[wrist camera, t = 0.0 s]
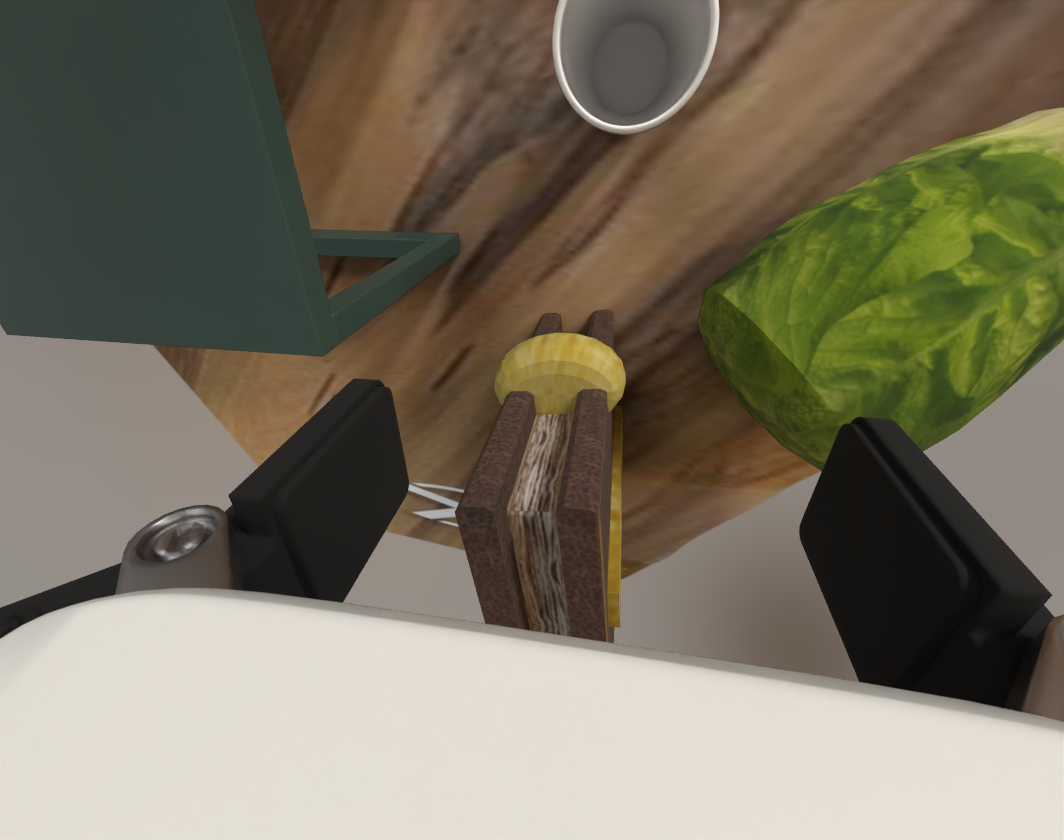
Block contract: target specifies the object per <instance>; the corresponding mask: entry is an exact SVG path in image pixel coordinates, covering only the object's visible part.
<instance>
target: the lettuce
mask: <svg viewBox="0 0 1064 840" xmlns="http://www.w3.org/2000/svg"><path fill="white" fill-rule="evenodd" d="M697 325H698V327H699V330H700V333H701V335H702V338H703V340H704V343H705V346H706V348H707V351H708V354H709V356H710V359H711V361H712V363H713V364H714V366H715V367H716V369H717V370H718V372H719V373H720V374H721V376H722V377H723V379H724V380H725V382H726V383H727V385H728V386H729V388H730V389H731V391H732V392H733V394H734V395H735V397H736V398H737V400H738V401H739V403H740V404H741V406H742V407H743V408H744V409H745V410H747V411H748V412H749V413H750V414H751V415H752V416H753V417H754V418H755V419H756V420H757V421H758V422H759V423H760V424H761V425H762V426H763V427H764V428H765V429H766V430H767V431H768V432H769V433H770V434H771V435H772V436H773V437H774V438H775V439H776V440H777V441H778V442H779V443H780V444H781V445H782V446H783V447H785V448H786V449H788V450H790V451H791V452H793V453H794V454H796V455H797V456H799V457H800V458H802V459H804V460H805V461H807V462H808V463H810V464H811V465H813V466H814V467H816V468H818V469H819V470H821V471H822V470H823V468H824V465H825V463H826V460H827V458H828V456H829V453H830V451H831V448H832V446H833V444H834V441H835V439H836V436H837V434H838V431H839V429H840V428H841V426H842V425H843V424H845V423H849V424H850V423H851V421H852V420H853V419H854V418H857V417H867V418H880V419H891V420H894V421H895V422H896V423H897V424H898V425H899V426H900V427H901V428H902V429H903V430H904V432H905V433H906V434H907V435H908V436H909V437H910V438H911V439H912V440H913V442H914V443H915V444H916V445H917V446H918V447H919V448H920V449H921V450H922V452H923V451H924V450H926V449H928V448H929V447H931V446H933V445H935V444H936V443H938V442H940V441H941V440H943V439H945V438H947V437H948V436H950V435H951V434H953V433H955V432H956V431H958V430H959V429H961V428H962V427H963V426H964V425H966V424H967V423H968V422H969V421H970V420H972V419H973V418H974V417H975V416H977V415H978V414H979V413H980V412H982V411H983V410H984V409H985V408H986V407H988V406H989V405H990V404H991V403H993V402H994V401H995V400H996V399H998V398H999V397H1000V396H1001V395H1002V394H1003V393H1004V392H1005V391H1006V390H1008V389H1009V388H1010V387H1011V386H1012V385H1013V384H1014V383H1016V382H1017V381H1018V380H1019V379H1020V378H1021V377H1022V376H1023V375H1024V374H1026V373H1027V372H1028V371H1029V370H1030V369H1031V368H1032V367H1033V366H1035V364H1037V363H1038V362H1039V361H1040V360H1041V359H1042V358H1043V357H1045V356H1046V355H1047V354H1048V353H1049V352H1050V351H1052V350H1053V349H1054V348H1055V347H1056V346H1057V345H1058V344H1060V343H1061V342H1062V341H1063V340H1064V107H1063V108H1055V109H1049V110H1043V111H1038V112H1034V113H1031V114H1029V115H1027V116H1024V117H1022V118H1019V119H1017V120H1014V121H1012V122H1010V123H1007V124H1005V125H1002V126H1000V127H997V128H995V129H992V130H990V131H986V132H982V133H978V134H974V135H970V136H966V137H962V138H958V139H955V140H952V141H950V142H947V143H944V144H942V145H939V146H937V147H934V148H932V149H929V150H927V151H924V152H922V153H919V154H917V155H914V156H912V157H910V158H908V159H906V160H904V161H902V162H900V163H898V164H896V165H894V166H892V167H890V168H888V169H886V170H884V171H882V172H880V173H878V174H876V175H874V176H872V177H870V178H869V179H867V180H865V181H863V182H861V183H860V184H858V185H856V186H854V187H852V188H850V189H849V190H847V191H845V192H842V193H840V194H838V195H836V196H833V197H831V198H829V199H826V200H824V201H822V202H820V203H817V204H815V205H813V206H810V207H808V208H806V209H804V210H802V211H801V212H800V213H798V214H797V215H795V216H794V217H793V218H791V219H790V220H789V221H787V222H786V223H784V224H783V225H782V226H780V227H779V228H777V229H776V230H775V231H773V232H772V233H770V234H769V235H768V236H767V237H766V238H765V239H764V240H762V241H761V242H760V243H759V244H758V245H757V246H756V247H755V248H754V249H753V250H752V251H751V252H749V253H748V254H747V255H746V256H745V257H744V258H743V259H742V260H741V261H740V262H739V263H737V264H736V265H735V266H734V267H732V268H731V269H730V270H729V271H727V272H726V273H725V274H724V275H722V276H721V277H720V278H719V279H718V280H716V281H715V282H714V283H713V284H711V285H710V286H709V287H708V288H707V289H706V290H705V291H704V295H703V299H702V303H701V308H700V312H699V316H698V320H697Z"/></svg>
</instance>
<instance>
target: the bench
mask: <svg viewBox="0 0 1064 840" xmlns="http://www.w3.org/2000/svg"><path fill="white" fill-rule="evenodd" d="M459 252H460V246H459V234H458V233H426V232H387V231H348V230H311V229H310V225H309V221H308V217H307V213H306V209H305V205H304V201H303V197H302V193H301V189H300V185H299V181H298V177H297V172H296V168H295V164H294V160H293V156H292V152H291V148H290V144H289V140H288V136H287V132H286V128H285V124H284V120H283V116H282V112H281V108H280V104H279V100H278V96H277V91H276V87H275V83H274V79H273V75H272V71H271V67H270V63H269V59H268V55H267V51H266V47H265V43H264V39H263V35H262V31H261V27H260V23H259V19H258V14H257V10H256V6H255V2H254V0H0V324H1V326H2V328H3V329H4V331H5V332H6V334H7V335H21V336H35V337H49V338H64V339H77V340H92V341H107V342H121V343H135V344H150V345H164V346H178V347H192V348H207V349H221V350H236V351H250V352H264V353H279V354H293V355H308V356H324V355H325V354H327V353H328V352H329V351H331V350H332V349H333V348H335V347H336V346H337V345H338V344H340V343H341V342H342V341H344V340H345V339H346V338H348V337H349V336H350V335H352V334H353V333H354V332H355V331H357V330H358V329H359V328H361V327H362V326H363V325H365V324H366V323H367V322H369V321H370V320H371V319H373V318H374V317H375V316H376V315H378V314H379V313H380V312H382V311H383V310H384V309H386V308H387V307H388V306H390V305H391V304H392V303H393V302H395V301H396V300H397V299H399V298H400V297H401V296H403V295H404V294H405V293H407V292H408V291H409V290H410V289H412V288H413V287H414V286H416V285H417V284H418V283H420V282H421V281H422V280H424V279H425V278H426V277H427V276H429V275H430V274H431V273H433V272H434V271H435V270H437V269H438V268H439V267H441V266H442V265H443V264H444V263H446V262H447V261H448V260H450V259H451V258H452V257H454V256H455V255H456V254H458V253H459ZM317 256H344V257H373V258H398V259H396V260H395V261H393V262H391V263H390V264H388V265H386V266H384V267H383V268H381V269H379V270H378V271H376V272H374V273H373V274H371V275H369V276H367V277H366V278H364V279H362V280H361V281H359V282H357V283H356V284H354V285H352V286H350V287H349V288H347V289H345V290H344V291H342V292H340V293H339V294H337V295H335V296H333V297H332V298H330V299H328V298H327V294H326V290H325V286H324V282H323V278H322V274H321V270H320V266H319V262H318V258H317Z"/></svg>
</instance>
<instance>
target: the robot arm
mask: <svg viewBox="0 0 1064 840" xmlns="http://www.w3.org/2000/svg"><path fill="white" fill-rule="evenodd" d="M408 488H409V479H408V474H407V469H406V464H405V458H404V453H403V448H402V443H401V438H400V432H399V427H398V422H397V417H396V412H395V407H394V401H393V396H392V392H391V390H390V389H389V388H388V387H385V386H384V384H383V382H381V381H380V380H368V379H353V380H352V381H351V382H349V383H348V384H347V385H346V386H345V387H344V388H343V389H342V390H341V391H340V392H339V393H338V394H337V395H335V396H334V397H333V398H332V399H331V400H330V401H329V402H328V403H327V404H326V405H325V406H324V407H323V408H322V409H320V410H319V411H318V412H317V413H316V414H315V415H314V416H313V417H312V418H311V419H310V420H309V421H308V422H307V423H305V424H304V425H303V426H302V427H301V428H300V429H299V430H298V431H297V432H296V433H295V434H294V435H293V436H291V437H290V438H289V439H288V440H287V441H286V442H285V443H284V444H283V445H282V446H281V447H280V448H279V449H278V450H276V451H275V452H274V453H273V454H272V455H271V456H270V457H269V458H268V459H267V460H266V461H265V462H264V463H262V464H261V465H260V466H259V467H258V468H257V469H256V470H255V471H254V472H253V473H252V474H251V475H250V476H249V477H247V478H246V479H245V480H244V481H243V482H242V483H241V484H240V485H239V486H238V487H237V488H236V489H235V490H234V491H232V492H231V493H230V494H229V498H230V500H231V502H232V504H233V505H232V506H231V507H229V508H228V509H227V510H226V511H225V512H224V511H223V510H221V509H220V508H218V507H215V506H210V505H197V506H191V507H186V508H182V509H178V510H176V511H173V512H170V513H168V514H165V515H163V516H161V517H159V518H158V519H156V520H154V521H152V522H150V523H149V524H147V525H146V526H145V527H143V528H142V529H141V530H140V531H138V532H137V533H136V534H135V535H134V537H133V538H132V539H131V540H130V541H129V542H128V544H127V546H126V548H125V551H124V553H123V558H122V563H120V564H117V565H114V566H111V567H109V568H106V569H103V570H101V571H98V572H95V573H93V574H90V575H87V576H85V577H82V578H79V579H77V580H74V581H71V582H69V583H66V584H63V585H61V586H58V587H55V588H52V589H50V590H47V591H44V592H42V593H39V594H36V595H34V596H31V597H28V598H25V599H23V600H20V601H18V602H15V603H12V604H9V605H7V606H4V607H2V608H0V840H1064V615H1061V616H1058V617H1054V616H1053V615H1052V614H1051V613H1050V611H1049V610H1048V609H1047V608H1046V607H1045V606H1044V604H1045V603H1046V602H1047V600H1048V599H1049V598H1050V597H1051V596H1052V595H1051V593H1050V592H1049V591H1048V590H1047V589H1046V588H1045V587H1044V586H1043V584H1042V583H1041V582H1040V581H1039V580H1038V579H1037V578H1036V577H1035V576H1034V574H1033V573H1032V572H1031V571H1030V570H1029V569H1028V568H1027V567H1026V566H1025V565H1024V563H1023V562H1022V561H1021V560H1020V559H1019V558H1018V557H1017V556H1016V555H1015V553H1014V552H1013V551H1012V550H1011V549H1010V548H1009V547H1008V546H1007V545H1006V543H1004V541H1003V540H1002V539H1001V538H1000V537H999V536H998V535H997V533H996V532H994V530H993V529H992V528H991V527H990V526H989V525H988V524H987V522H985V520H984V519H983V518H982V517H981V516H980V515H979V514H978V512H976V510H975V509H974V508H973V507H972V506H971V505H970V504H969V502H968V501H967V500H966V499H965V498H964V497H963V496H962V495H961V494H960V493H959V491H958V490H957V489H956V488H955V487H954V486H953V485H952V484H951V483H950V482H949V480H948V479H947V478H946V477H945V476H944V475H943V474H942V473H941V471H940V470H939V469H938V468H937V467H936V466H935V465H934V464H933V463H932V461H931V460H930V459H929V458H928V457H927V456H926V455H925V454H924V453H923V452H922V450H921V449H920V448H919V447H918V446H917V445H916V444H915V443H914V442H913V440H912V439H911V438H910V437H909V436H908V435H907V434H906V433H905V432H904V430H903V429H902V428H901V427H900V426H899V425H898V424H897V423H896V422H895V421H894V420H891V419H880V418H867V417H857V418H854V419H853V420H852V421H851V423H850V424H849V423H845V424H843V425H842V426H841V428H840V429H839V431H838V434H837V436H836V439H835V441H834V444H833V446H832V448H831V451H830V453H829V456H828V458H827V460H826V463H825V465H824V468H823V470H822V473H821V475H820V477H819V480H818V482H817V485H816V487H815V489H814V492H813V494H812V497H811V499H810V502H809V504H808V506H807V509H806V511H805V514H804V516H803V518H802V521H801V524H800V530H799V532H800V533H799V534H800V539H801V543H802V545H803V548H804V550H805V552H806V555H807V557H808V560H809V562H810V564H811V567H812V569H813V572H814V574H815V576H816V579H817V581H818V584H819V586H820V588H821V591H822V593H823V595H824V598H825V600H826V603H827V605H828V608H829V610H830V612H831V615H832V617H833V619H834V622H835V624H836V627H837V629H838V631H839V634H840V636H841V639H842V641H843V643H844V646H845V648H846V651H847V653H848V655H849V658H850V660H851V663H852V665H853V668H854V669H855V672H856V675H857V677H858V680H859V682H857V681H851V680H844V679H838V678H832V677H825V676H820V675H813V674H807V673H800V672H794V671H788V670H782V669H775V668H769V667H762V666H756V665H750V664H744V663H737V662H731V661H724V660H718V659H712V658H705V657H699V656H693V655H686V654H681V653H674V652H667V651H661V650H654V649H647V648H642V647H634V646H629V645H622V644H615V643H609V642H603V641H596V640H590V639H583V638H577V637H570V636H563V635H557V634H550V633H544V632H537V631H531V630H524V629H517V628H511V627H504V626H498V625H491V624H484V623H478V622H471V621H464V620H457V619H450V618H443V617H437V616H429V615H423V614H416V613H410V612H403V611H396V610H389V609H383V608H376V607H369V606H362V605H355V604H348V603H343V601H344V599H345V598H346V596H347V595H348V593H349V591H350V590H351V588H352V586H353V585H354V583H355V581H356V579H357V578H358V576H359V574H360V573H361V571H362V569H363V568H364V566H365V564H366V563H367V561H368V559H369V557H370V556H371V554H372V552H373V551H374V549H375V547H376V546H377V544H378V542H379V541H380V539H381V537H382V536H383V534H384V532H385V531H386V529H387V527H388V526H389V524H390V522H391V521H392V519H393V517H394V515H395V514H396V512H397V510H398V509H399V507H400V505H401V504H402V502H403V500H404V499H405V497H406V495H407V492H408Z"/></svg>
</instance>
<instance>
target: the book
mask: <svg viewBox="0 0 1064 840" xmlns="http://www.w3.org/2000/svg"><path fill="white" fill-rule="evenodd" d="M625 383H626V374H625V370H624V367H623V363H622V361H621V359H620V358H619V357H618V356H617V355H616V353H615V352H614V335H613V312H611V311H610V310H597V311H595V312H593V313H592V316H591V322H590V327H589V333H588V337H587V336H584V335H580V334H574V333H562V325H561V315H559V314H557V313H549V314H544V315H543V316H542V317H541V319H540V321H539V323H538V326H537V328H536V330H535V332H534V335H533V337H532V338H531V339H529V340H526V341H524V342H521V343H519V344H518V345H516V346H515V347H514V348H513V349H511V350H510V351H509V352H508V353H507V354H506V355H505V357H504V358H503V360H502V362H501V364H500V365H499V367H498V369H497V371H496V373H495V382H494V389H495V393H496V396H497V398H498V400H499V403H500V404H501V405H502V407H501V409H500V411H499V414H498V416H497V418H496V420H495V423H494V425H493V427H492V430H491V432H490V434H489V436H488V439H487V441H486V443H485V445H484V448H483V450H482V452H481V454H480V457H479V459H478V461H477V463H476V466H475V468H474V470H473V472H472V475H471V477H470V479H469V481H468V484H467V486H466V488H465V490H464V493H463V495H462V497H461V499H460V502H459V504H458V506H457V508H456V511H455V515H456V518H457V522H458V525H459V529H460V533H461V536H462V540H463V544H464V547H465V551H466V554H467V558H468V562H469V565H470V569H471V573H472V576H473V580H474V584H475V587H476V591H477V594H478V598H479V602H480V605H481V609H482V613H483V616H484V620H485V624H491V625H498V626H504V627H511V628H517V629H524V630H531V631H537V632H544V633H550V634H557V635H563V636H570V637H577V638H583V639H590V640H596V641H603V642H609V643H614V627H620V594H621V593H620V592H621V516H622V437H623V432H622V406H616V404H617V403H618V401H619V400H620V399H621V398H622V396H623V392H624V388H625Z"/></svg>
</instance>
